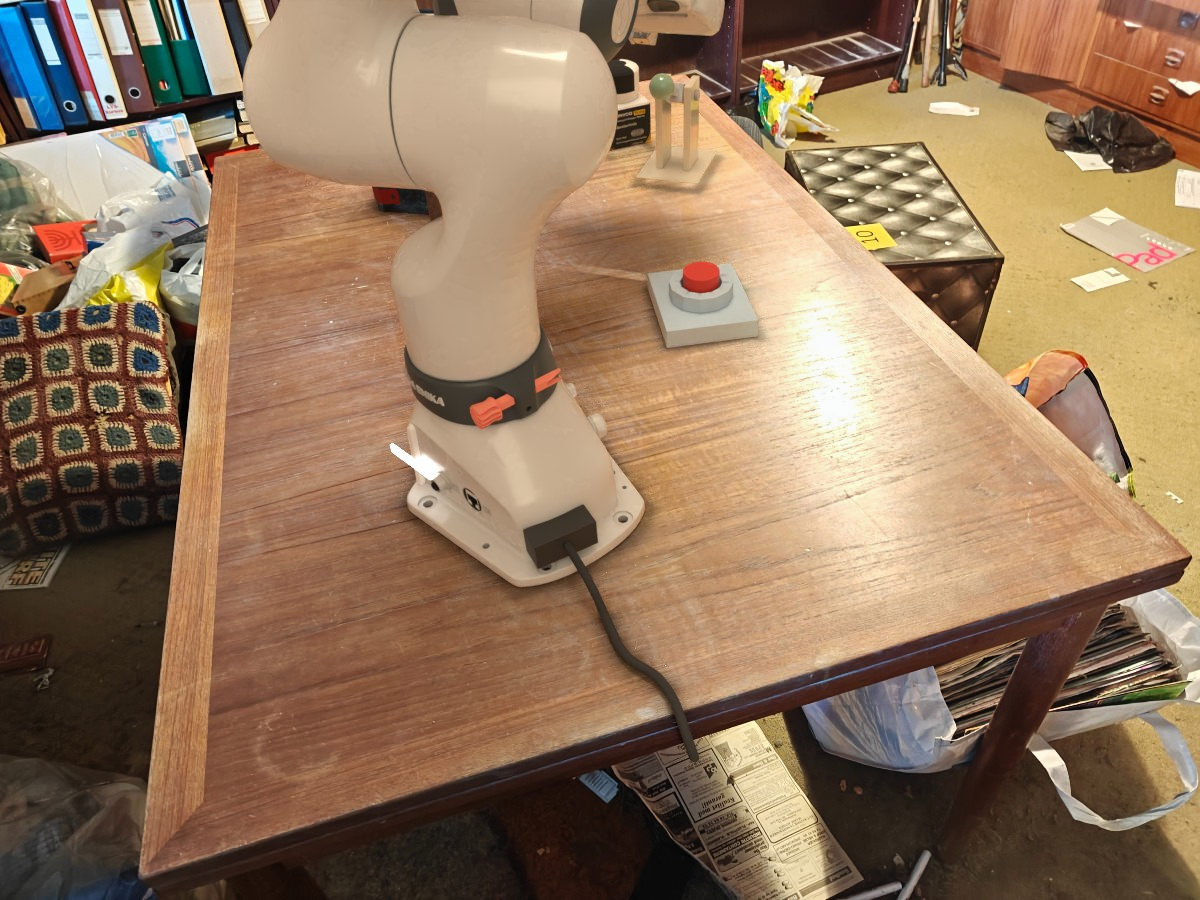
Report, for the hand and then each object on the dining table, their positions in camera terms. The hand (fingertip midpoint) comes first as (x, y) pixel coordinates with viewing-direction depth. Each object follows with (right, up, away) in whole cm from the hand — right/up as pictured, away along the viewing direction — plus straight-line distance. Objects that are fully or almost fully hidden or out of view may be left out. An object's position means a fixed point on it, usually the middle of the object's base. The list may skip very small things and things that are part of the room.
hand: (645, 38), depth 99 cm
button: (+6, -30, -5) cm, 31 cm away
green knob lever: (+4, -2, +13) cm, 14 cm away
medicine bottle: (-2, -1, +32) cm, 32 cm away
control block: (+6, -32, -3) cm, 33 cm away
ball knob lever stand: (+6, -7, +24) cm, 26 cm away
